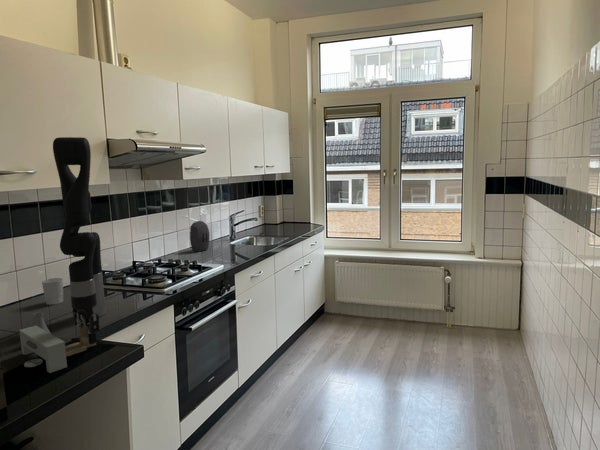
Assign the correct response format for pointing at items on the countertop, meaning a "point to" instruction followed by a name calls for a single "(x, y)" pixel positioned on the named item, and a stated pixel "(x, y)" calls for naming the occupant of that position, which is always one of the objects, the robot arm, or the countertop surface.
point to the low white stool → (44, 347)
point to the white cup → (53, 290)
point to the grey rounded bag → (199, 236)
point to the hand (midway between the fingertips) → (87, 340)
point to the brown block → (78, 346)
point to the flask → (40, 321)
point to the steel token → (33, 363)
